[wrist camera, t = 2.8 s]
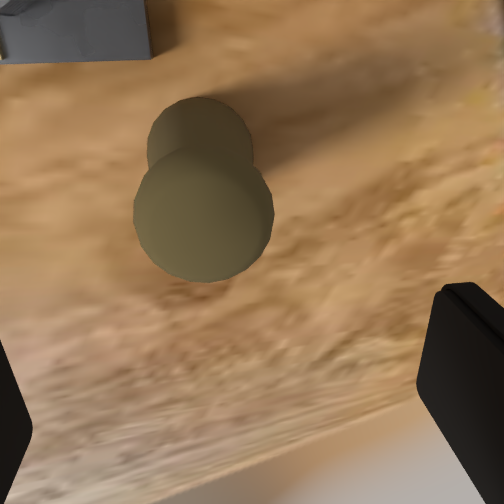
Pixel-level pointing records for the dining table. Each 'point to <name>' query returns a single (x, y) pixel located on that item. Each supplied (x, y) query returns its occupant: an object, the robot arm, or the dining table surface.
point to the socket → (74, 31)
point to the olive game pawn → (202, 194)
